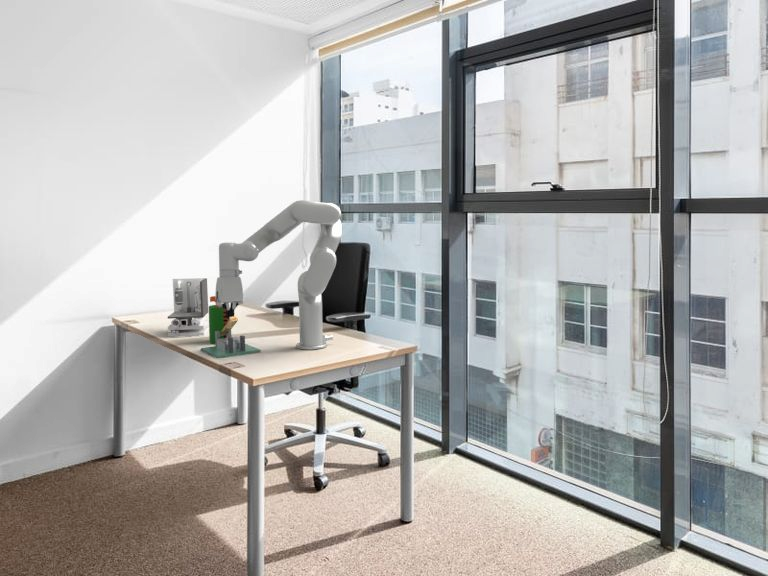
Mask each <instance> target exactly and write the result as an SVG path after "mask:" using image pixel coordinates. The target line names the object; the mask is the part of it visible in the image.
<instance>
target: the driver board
mask: <svg viewBox="0 0 768 576" xmlns="http://www.w3.org/2000/svg"><path fill="white" fill-rule="evenodd" d="M232 337H233V336H231V337H228V352H224V351H222V350H219V349H217V347H216V345H213V346H207V347H200V351H201V352H203V353H205V354H207V355H209V354H210V356H211V355H212V357H213V356H214V358H215V357H216V358H215V359H222V358H223V359H224V358H229V357H230V356H231V357H236V356H237V355H238V356H243V355H244V356H245V355H250V354H255V353H256V354H258V353H261V351H262V350H261V349H260V348H258V347H255V346H253V345H249V344H247V343H246V336H245V335H243V334H241V335H240V336H239V338H240V350H235V351H233V338H232ZM231 357H230V358H231Z"/></svg>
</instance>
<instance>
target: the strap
mask: <svg viewBox="0 0 768 576" xmlns="http://www.w3.org/2000/svg"><path fill="white" fill-rule="evenodd" d="M238 321H239V320H238V316H237V315H234V317H229V321H228V323H227V324H226V325H225V327H224V328H223V329H222V331H221V332H220V336H221V335H227V334H228V333H229V332H230V330H231V331H232V329H233V328H234V326H235V325H236V324H237V323H238Z"/></svg>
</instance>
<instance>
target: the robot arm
mask: <svg viewBox="0 0 768 576" xmlns="http://www.w3.org/2000/svg"><path fill="white" fill-rule="evenodd" d="M341 211H342V210H341V209H340V207H339V205H337V204H335V203H332V202H323V201H321V202H320V201H310V200H303V199H302V200H300V199H299V200H296V201H294V202H292V203H291V204H289V205H288V206H287V207H286V208H284V209H283V210H282V211H280V212H279V213H278V214H277V215H276V216H274V217H273V218H272V219H270V220H269V221H268V222H267V223H265V224H264V225H263V226H262V227H260V229H258V230H257V231H256V232H253V234H252V235H251V236H249V237H248V238H246V239H245V240H243V242H241V243H236V242H221V243H219V244H218V268H219V269H218V270H219V272H218V274H219V275H218V276H219V277H216V283H215V293H214V294H215V295H214V296H215V299H216V301H217V303H215V305H217V306H222V307H223V308H224V309H225V310H226V318H227V320H229V317H234V316H235V310H236V308H237V307H238V306H240V305H243V303H244V301H243V300H244V290H243V282H242V277H241V276H240V275H241V274H242V275H243V270H240V264H239V263H240V262H241V261H243V262H253V261H255V260H256V259H257V258H258V256H259V253H261V252H262V251H263V250H265V249H266V248H267V247H269V246H271V245H272V244H273V243H275V242H278V241H280V240H282V239H283V238H285V237H286V236H287V235H289V234H290V233H291V232H292V231H293V230H295V229H296V228H298V226H300V225H301V224H302V223H308V224H309V223H310V224H320V225H321V226H320V227H321V231H320V234H319V237H318V239H317V241H316V243H315V246H314V248H313V250H312V252H311V254H310V255H309V263H310V264H309V267H308V269H307V270H306V271H304V272H302V273H301V274H299V277H298V279H297V291H298V292H297V293H298V317H299V318H298V319H299V323H298V325H299V342H297V343H296V344H295V347H296V348H297V349H300V350H309V351H310V350H311V351H312V350H320V349H324V348H326V347H327V346H328V345H327V341H333V340H334V337H333V335H331V334H330V335H325V334H324V333H323V296H322V294H323V292H324V291H325V290H326V288H327V286H328V284H329V281H330V280H331V277H332V276H333V273H334V270H335V268H336V265H337V255H336V251H337V249H338V247H339V244H340V241H341V239H342V236H343V226H342V221H341V216H342V212H341ZM239 261H240V262H239Z"/></svg>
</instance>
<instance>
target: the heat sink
mask: <svg viewBox="0 0 768 576" xmlns="http://www.w3.org/2000/svg"><path fill="white" fill-rule="evenodd" d="M226 337H227V338H222V339H220V331H215V342H216V344H215V346H216V347H217V349H219V350H222V351H224V352H228V337H232V338H233V351H235V350H240V337H237V336H232V329H231V330H230V332H229V333H228V334H227V335H226Z"/></svg>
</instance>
